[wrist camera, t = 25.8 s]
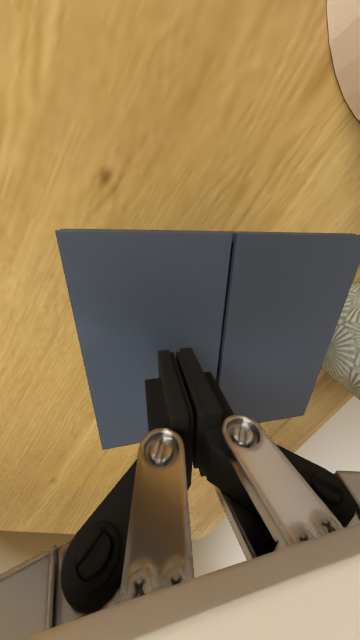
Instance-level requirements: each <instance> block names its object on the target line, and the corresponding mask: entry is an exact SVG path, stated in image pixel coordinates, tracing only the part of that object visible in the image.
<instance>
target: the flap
mask: <svg viewBox="0 0 360 640" xmlns="http://www.w3.org/2000/svg"><path fill="white" fill-rule="evenodd" d="M55 232H56V237H57V241H58V246H59V251H60V255H61V260H62V264H63V269H64V274H65V278H66V283H67V287H68V292H69V297H70V301H71V306H72V311H73V315H74V320H75V324H76V329H77V334H78V338H79V343H80V347H81V352H82V357H83V361H84V366H85V370H86V375H87V380H88V384H89V389H90V394H91V398H92V403H93V407H94V412H95V417H96V421H97V426H98V430H99V435H100V440H101V444H102V449H103V450H105V449H110V448H115V447H120V446H126V445H131V444H136V443H140V442H141V441H142V439H143V438H144V436H145V435H146V434H147V433H149V432H148V419H147V406H146V392H145V380H147V379H155V378H159V374H158V351H160V350H169V351H170V352H174V355H175V358H176V352H179V351H180V348H190V347H191V348H192V350H193V352H194V354H195V356H196V358H197V360H198V362H199V364H200V366H201V368H202V370H203V372H209V371H210V372H211V373H212V375H213V376H214V378H215V380H216V377H217V369H218V360H219V351H220V342H221V333H222V324H223V315H224V306H225V298H226V289H227V280H228V271H229V262H230V253H231V244H232V235H233V233H210V232H144V231H78V230H56V231H55Z"/></svg>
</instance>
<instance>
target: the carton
mask: <svg viewBox="0 0 360 640" xmlns="http://www.w3.org/2000/svg"><path fill="white" fill-rule="evenodd" d="M60 230H78V231H144V232H210V233H233V235H232V244H231V253H230V262H229V271H228V280H227V289H226V298H225V306H224V315H223V324H222V333H221V342H220V351H219V360H218V369H217V377H216V382H217V384H218V386H219V387H220V389H221V391H222V393H223V395H224V397H225V398H226V400H227V402H228V404H229V406H230V408H231V409H232V411H233V413H234V415H236V414H237V415H244V416H247V417H250V418H251V419H253V420H254V421H256V422H257V423H262V422H267V421H273V420H279V419H285V418H291V417H296V416H302V415H304V413H305V410H306V407H307V404H308V402H309V399H310V396H311V394H312V391H313V388H314V385H315V383H316V380H317V377H318V375H319V372H320V369H321V367H322V364H323V361H324V358H325V356H326V353H327V350H328V348H329V345H330V342H331V339H332V337H333V334H334V331H335V329H336V326H337V323H338V321H339V318H340V315H341V312H342V310H343V307H344V304H345V302H346V299H347V296H348V293H349V291H350V288H351V285H352V283H353V280H354V277H355V274H356V272H357V269H358V266H359V264H360V235H356V234H346V233H295V232H242V231H183V230H124V229H60Z"/></svg>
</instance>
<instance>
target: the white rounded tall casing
mask: <svg viewBox="0 0 360 640" xmlns="http://www.w3.org/2000/svg"><path fill="white" fill-rule="evenodd" d="M327 18H328V32H329V45H330V50H331V55H332V60H333V65H334V70H335V74H336V77H337V80H338V83H339V85H340V88H341V91H342V94H343V96H344V99H345V101H346V102H347V104H348V106H349V107H350V109H351V111H352V112H353V114H354V116H355V117H356V118H357V119H358V120H359V121H360V0H327Z"/></svg>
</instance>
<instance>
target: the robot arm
mask: <svg viewBox="0 0 360 640" xmlns="http://www.w3.org/2000/svg"><path fill="white" fill-rule="evenodd" d="M158 374H159V378H155V379H147V380H145V392H146V406H147V419H148V432H149V433H147V434H146V435H145V436H144V438H143V439H142V441H141V442H140V446H139V450H138V457H137V460H136V461H135V462H134V464H133V465H132V466H131V467H130V469H129V470H128V471H127V472H126V473H125V475H124V476H123V477H122V478H121V480H120V481H119V482H118V483H117V484H116V486H115V487H114V488H113V489H112V491H111V492H110V493H109V494H108V495H107V497H106V498H105V499H104V500H103V502H102V503H101V504H100V505H99V506H98V508H97V509H96V510H95V511H94V513H93V514H92V515H91V516H90V517H89V519H88V520H87V521H86V522H85V524H84V525H83V526H82V527H81V528H80V530H79V531H78V532H77V534H76V535H75V537H74V538H73V539H72V540H71V541H69V542H67V543H65V544H63V545H62V546H60V547H58V548H57V546H56V545H54V546H52V547H51V548H49V549H47V550H45V551H43V552H41V553H40V554H38V555H36V556H34V557H32V558H30V559H28V560H26V561H25V562H23V563H21V564H19V565H17V566H15V567H13V568H12V569H10V570H8V571H6V572H4V573H2V574H0V640H360V472H355V471H336V473H335V474H332V473H331V472H329V471H328V470H326V469H324V468H322V467H320V466H318V465H316V464H314V463H312V462H310V461H308V460H306V459H304V458H302V457H300V456H298V455H296V454H294V453H293V452H291V451H289V450H287V449H285V448H283V447H281V446H279V445H277V444H275V443H274V442H273V441H272V440H271V438H270V437H269V436H268V435H267V434H266V432H265V431H264V430H263V429H262V428H261V426H260V425H259V424H258V423H257V422H256V421H254V420H253V419H251V418H250V417H247V416H244V415H237V414H236V415H234V413H233V411H232V409H231V408H230V406H229V404H228V402H227V400H226V398H225V397H224V395H223V393H222V391H221V389H220V387H219V386H218V384H217V382H216V380H215V378H214V376H213V375H212V373H211V372H210V371H209V372H203V370H202V368H201V366H200V364H199V362H198V360H197V358H196V356H195V354H194V352H193V350H192V348H191V347H190V348H180V351H179V352H176V358H175V355H174V352H170V351H169V350H160V351H158ZM192 462H193V466H194V468H199V471H200V475H201V477H202V476H206V477H207V481H209V482H210V483H212V484H213V485H214V486H215V490H216V493H217V495H218V497H219V500H220V502H221V504H222V506H223V508H224V511H225V513H226V515H227V517H228V519H229V522H230V524H231V526H232V528H233V531H234V533H235V535H236V537H237V539H238V542H239V544H240V546H241V548H242V551H243V553H244V555H245V557H246V559H247V561H244V562H241V563H238V564H235V565H232V566H229V567H226V568H223V569H220V570H217V571H214V572H211V573H208V574H205V575H203V576H200V577H196V578H194V568H193V556H192V542H191V530H190V517H189V504H188V492H187V491H188V489H189V487H190V485H191V473H192Z"/></svg>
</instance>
